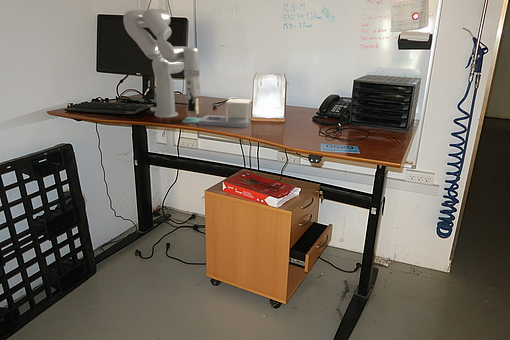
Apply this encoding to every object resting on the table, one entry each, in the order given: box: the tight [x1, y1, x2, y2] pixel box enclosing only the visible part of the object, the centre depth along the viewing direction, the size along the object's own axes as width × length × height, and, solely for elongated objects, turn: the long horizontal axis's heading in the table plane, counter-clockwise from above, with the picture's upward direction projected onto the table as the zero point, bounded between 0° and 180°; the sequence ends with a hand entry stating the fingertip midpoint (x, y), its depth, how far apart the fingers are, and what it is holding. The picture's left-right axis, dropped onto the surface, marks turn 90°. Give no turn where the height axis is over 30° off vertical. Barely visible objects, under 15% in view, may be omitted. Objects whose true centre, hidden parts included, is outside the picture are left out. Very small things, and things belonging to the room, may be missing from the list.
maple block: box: [186, 97, 200, 116], centre depth 195 cm, size 4×4×8 cm
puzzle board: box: [198, 114, 251, 129], centre depth 195 cm, size 24×14×2 cm, turn 82°
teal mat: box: [181, 116, 203, 125], centre depth 198 cm, size 9×9×1 cm
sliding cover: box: [225, 98, 252, 123], centre depth 192 cm, size 11×10×10 cm
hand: (193, 109), depth 196 cm, fingers closed on maple block, 4 cm apart
